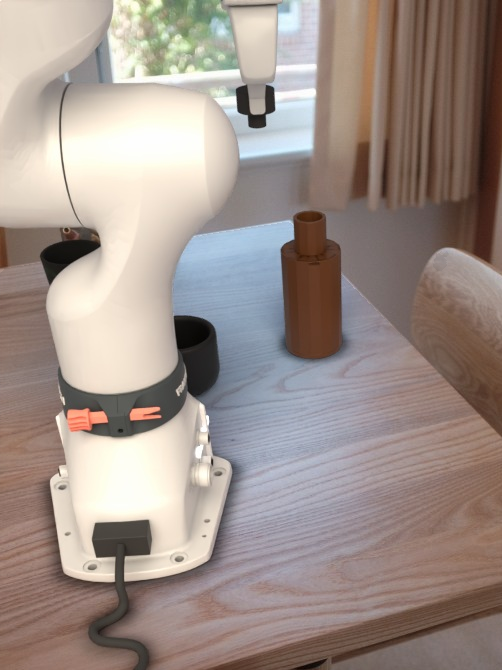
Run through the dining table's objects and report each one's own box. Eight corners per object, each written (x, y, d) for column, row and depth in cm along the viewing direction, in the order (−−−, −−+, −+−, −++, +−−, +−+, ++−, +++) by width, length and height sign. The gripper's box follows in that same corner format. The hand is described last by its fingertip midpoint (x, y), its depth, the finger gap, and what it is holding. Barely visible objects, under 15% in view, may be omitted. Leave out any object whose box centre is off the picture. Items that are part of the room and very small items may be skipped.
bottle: (345, 356, 115) (344, 226, 104) (288, 360, 114) (281, 230, 103) (337, 329, 120) (336, 203, 110) (283, 333, 120) (276, 206, 109)
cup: (128, 342, 118) (113, 254, 111) (73, 359, 115) (53, 270, 107) (105, 319, 123) (88, 234, 116) (51, 335, 120) (30, 248, 112)
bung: (277, 130, 109) (275, 93, 106) (239, 132, 108) (236, 95, 106) (274, 119, 112) (272, 83, 110) (237, 121, 112) (234, 84, 109)
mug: (202, 358, 115) (195, 307, 110) (234, 390, 109) (229, 337, 104) (112, 386, 110) (101, 333, 106) (141, 421, 104) (131, 367, 100)
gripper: (215, -40, 108) (226, 85, 116) (222, -10, 92) (233, 132, 101) (268, -42, 108) (275, 82, 117) (284, -12, 93) (290, 129, 101)
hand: (256, 106), depth 109 cm, fingers closed on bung, 4 cm apart
